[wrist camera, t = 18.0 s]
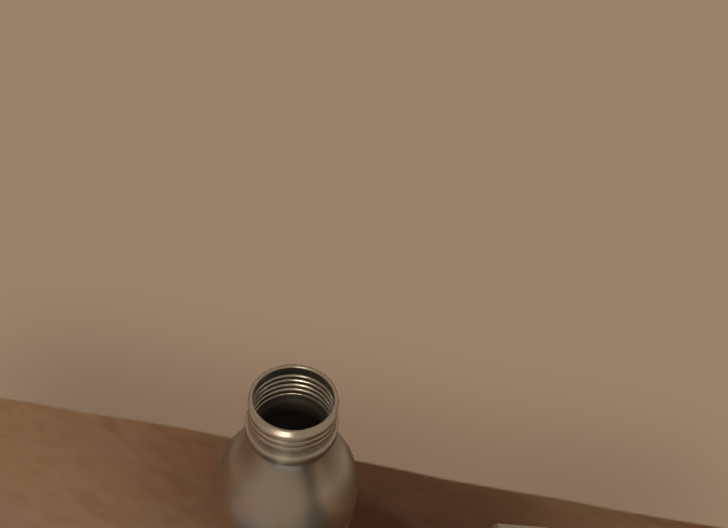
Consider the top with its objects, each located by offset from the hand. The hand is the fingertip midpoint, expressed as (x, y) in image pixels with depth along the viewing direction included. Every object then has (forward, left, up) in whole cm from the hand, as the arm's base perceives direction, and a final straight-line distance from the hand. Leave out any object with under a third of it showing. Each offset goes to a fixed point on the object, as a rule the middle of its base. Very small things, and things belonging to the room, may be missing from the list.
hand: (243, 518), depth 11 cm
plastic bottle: (-7, +9, -30) cm, 32 cm away
